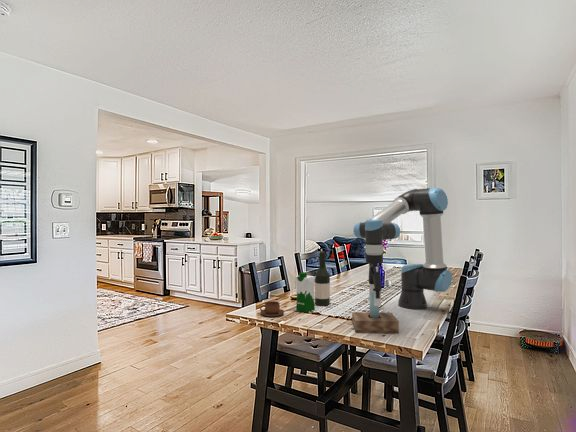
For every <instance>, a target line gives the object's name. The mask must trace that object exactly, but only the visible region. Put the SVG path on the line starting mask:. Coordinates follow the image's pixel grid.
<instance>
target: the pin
mask: <svg viewBox="0 0 576 432" xmlns="http://www.w3.org/2000/svg"><path fill="white" fill-rule="evenodd" d="M379 307H380V306H374V293H370V298H369V313H370V318H379V313H380V308H379Z"/></svg>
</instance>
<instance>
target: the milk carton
mask: <svg viewBox="0 0 576 432" xmlns="http://www.w3.org/2000/svg"><path fill="white" fill-rule="evenodd" d="M315 277H316V276H315V275H314V276H313V275H308V273H307V272H303V271H302V272H299V273H298V275H296V276H295V277H294V278H295V282H296V307H295V310H296V311H298V312H302V313H306V314H307V313H310V312H313V311H312V310H314V311H315V309H316V307H315V306H316V305H315ZM309 311H310V312H309Z"/></svg>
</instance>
